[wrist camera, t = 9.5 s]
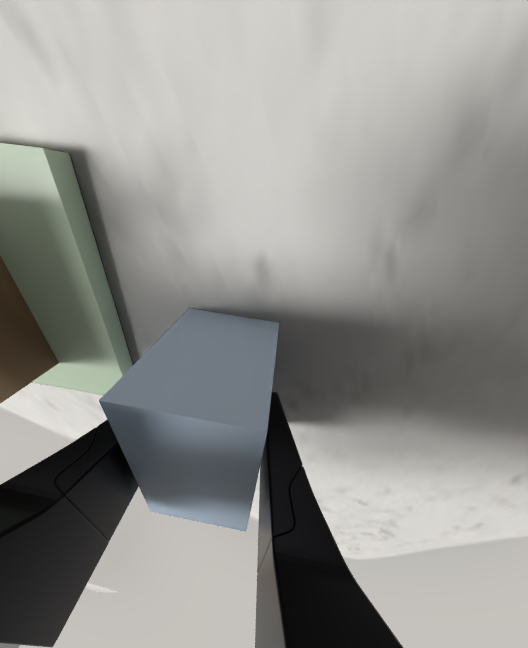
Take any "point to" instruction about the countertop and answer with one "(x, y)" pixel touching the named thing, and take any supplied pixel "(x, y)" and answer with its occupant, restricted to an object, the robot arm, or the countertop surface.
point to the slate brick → (198, 416)
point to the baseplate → (59, 268)
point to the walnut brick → (19, 340)
